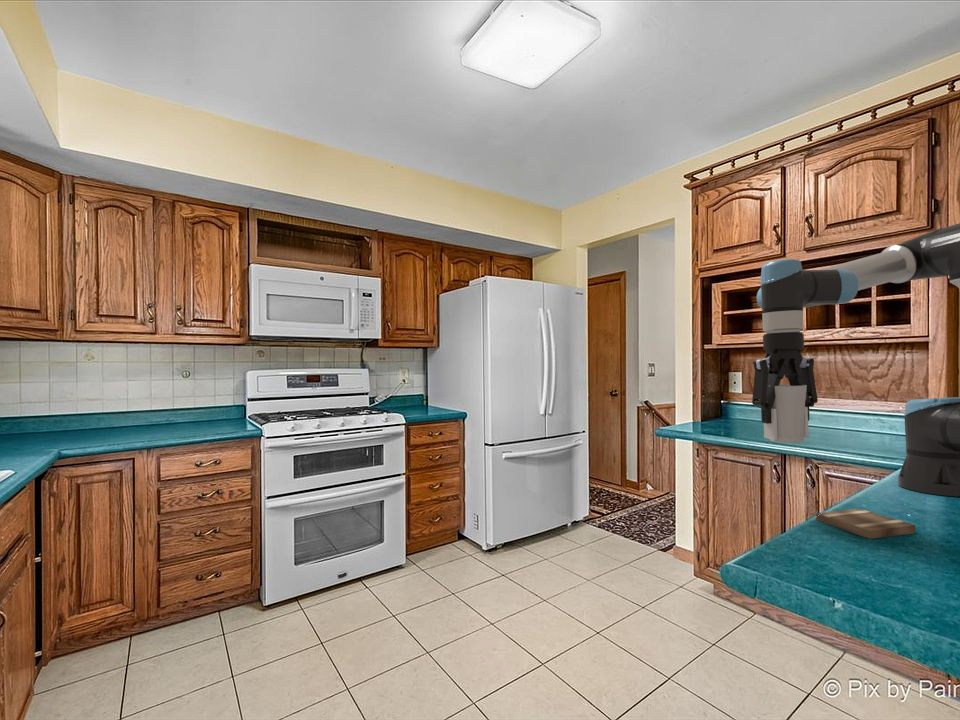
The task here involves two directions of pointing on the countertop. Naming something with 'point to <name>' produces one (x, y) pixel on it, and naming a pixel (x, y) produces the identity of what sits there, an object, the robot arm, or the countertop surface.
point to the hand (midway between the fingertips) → (786, 437)
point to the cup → (790, 413)
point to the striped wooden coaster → (866, 523)
